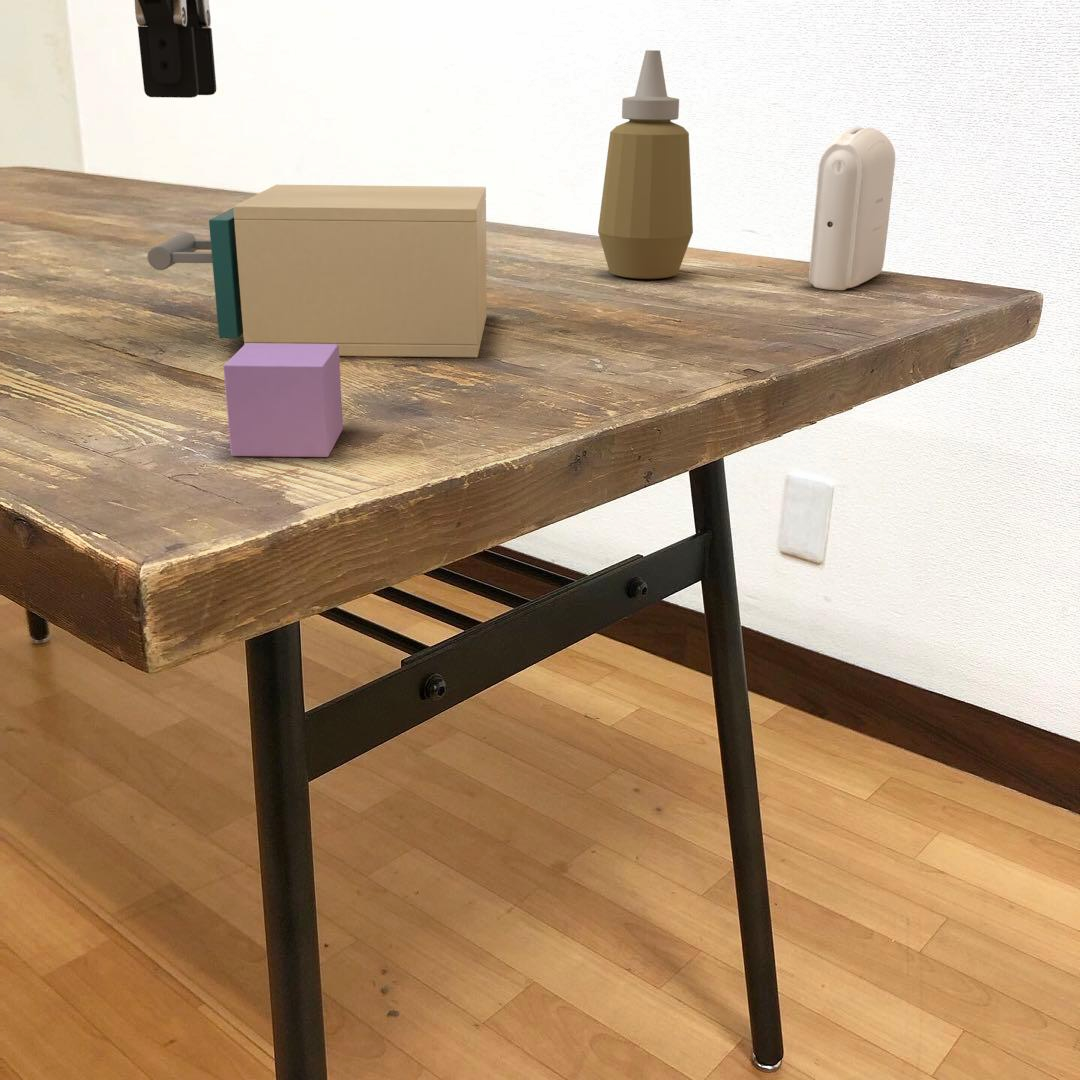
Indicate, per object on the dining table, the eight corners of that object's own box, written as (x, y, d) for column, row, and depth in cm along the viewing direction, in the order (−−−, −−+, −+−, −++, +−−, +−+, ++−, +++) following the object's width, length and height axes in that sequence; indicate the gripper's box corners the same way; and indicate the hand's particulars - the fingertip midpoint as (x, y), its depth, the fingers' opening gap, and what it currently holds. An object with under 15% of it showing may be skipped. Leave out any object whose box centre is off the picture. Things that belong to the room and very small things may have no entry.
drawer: (143, 337, 78) (130, 218, 75) (191, 303, 88) (181, 197, 85) (433, 341, 77) (430, 222, 75) (447, 306, 88) (445, 200, 85)
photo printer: (852, 293, 99) (869, 131, 95) (801, 287, 101) (815, 129, 97) (888, 275, 108) (905, 125, 103) (840, 270, 110) (855, 123, 105)
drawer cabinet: (244, 355, 77) (232, 205, 74) (284, 315, 89) (275, 184, 86) (477, 357, 77) (476, 208, 74) (486, 317, 89) (485, 186, 86)
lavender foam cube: (231, 456, 58) (222, 365, 57) (252, 428, 62) (245, 342, 61) (328, 457, 58) (323, 366, 57) (343, 429, 62) (338, 343, 61)
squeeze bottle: (621, 285, 101) (629, 50, 95) (581, 270, 108) (586, 49, 102) (707, 280, 104) (721, 51, 98) (663, 265, 111) (673, 50, 105)
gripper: (130, -216, 78) (160, 91, 85) (29, -281, 63) (75, 100, 70) (248, -215, 78) (269, 92, 85) (175, -279, 63) (208, 102, 70)
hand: (181, 92), depth 77 cm, fingers open, 3 cm apart
